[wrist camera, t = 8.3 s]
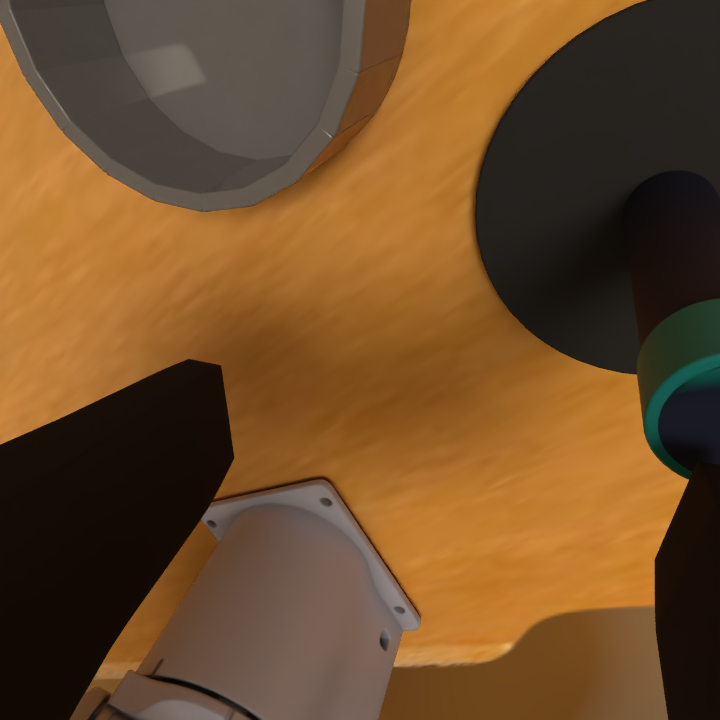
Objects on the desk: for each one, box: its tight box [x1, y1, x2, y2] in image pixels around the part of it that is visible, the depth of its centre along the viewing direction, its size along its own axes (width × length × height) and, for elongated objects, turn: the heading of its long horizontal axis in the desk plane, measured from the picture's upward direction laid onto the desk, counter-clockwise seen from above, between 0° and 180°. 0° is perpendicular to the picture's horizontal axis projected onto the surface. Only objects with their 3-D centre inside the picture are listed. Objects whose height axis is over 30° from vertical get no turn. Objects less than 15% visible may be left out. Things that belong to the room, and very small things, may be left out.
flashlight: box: [623, 170, 720, 480], centre depth 12 cm, size 2×2×9 cm
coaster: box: [475, 0, 720, 374], centre depth 16 cm, size 10×10×1 cm
